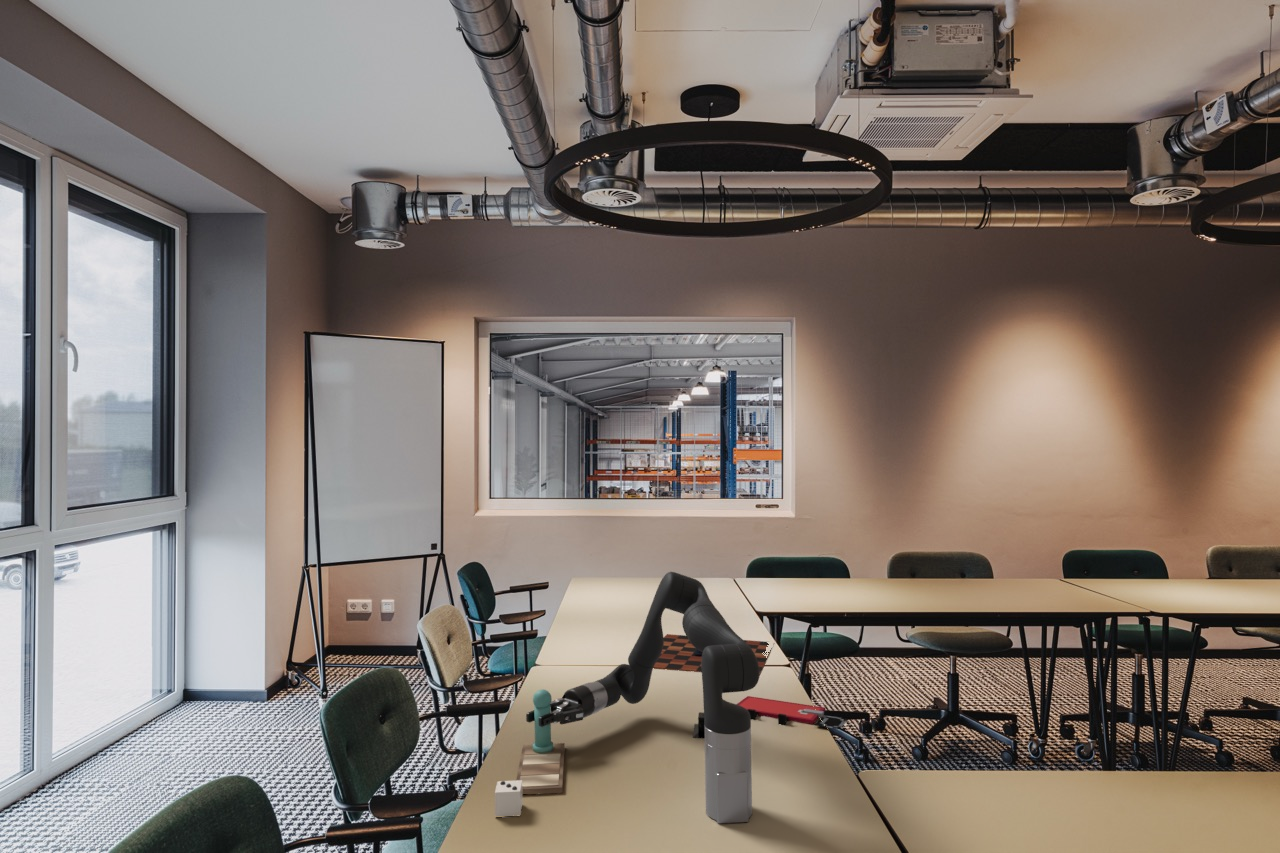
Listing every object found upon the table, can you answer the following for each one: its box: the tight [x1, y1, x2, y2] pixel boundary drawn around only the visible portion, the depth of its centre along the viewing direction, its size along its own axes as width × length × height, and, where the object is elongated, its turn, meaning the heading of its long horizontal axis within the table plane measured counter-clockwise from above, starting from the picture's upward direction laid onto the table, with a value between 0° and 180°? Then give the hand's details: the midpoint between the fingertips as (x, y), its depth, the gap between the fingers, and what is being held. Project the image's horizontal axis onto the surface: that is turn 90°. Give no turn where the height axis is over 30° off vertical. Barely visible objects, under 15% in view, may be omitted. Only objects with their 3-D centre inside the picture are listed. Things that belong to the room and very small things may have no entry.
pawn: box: [532, 689, 554, 753], centre depth 184 cm, size 5×5×14 cm
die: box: [494, 780, 523, 817], centre depth 157 cm, size 5×5×6 cm
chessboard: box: [653, 633, 771, 677], centre depth 266 cm, size 40×40×11 cm
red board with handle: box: [735, 695, 849, 730], centre depth 208 cm, size 30×3×15 cm
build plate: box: [691, 712, 705, 739], centre depth 198 cm, size 12×7×5 cm, turn 173°
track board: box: [515, 742, 566, 795], centre depth 176 cm, size 24×10×1 cm, turn 4°
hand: (533, 720), depth 182 cm, fingers closed on pawn, 3 cm apart
